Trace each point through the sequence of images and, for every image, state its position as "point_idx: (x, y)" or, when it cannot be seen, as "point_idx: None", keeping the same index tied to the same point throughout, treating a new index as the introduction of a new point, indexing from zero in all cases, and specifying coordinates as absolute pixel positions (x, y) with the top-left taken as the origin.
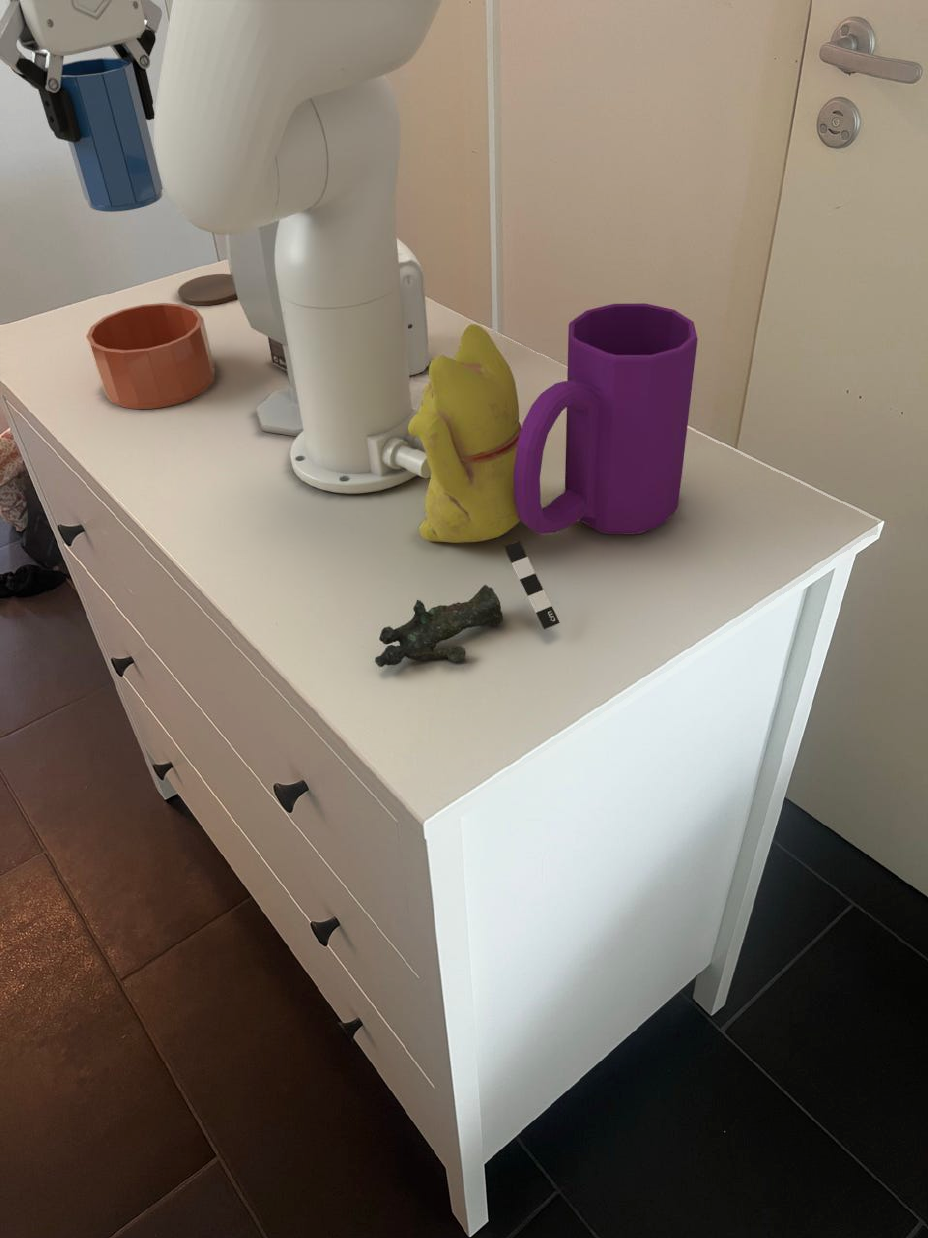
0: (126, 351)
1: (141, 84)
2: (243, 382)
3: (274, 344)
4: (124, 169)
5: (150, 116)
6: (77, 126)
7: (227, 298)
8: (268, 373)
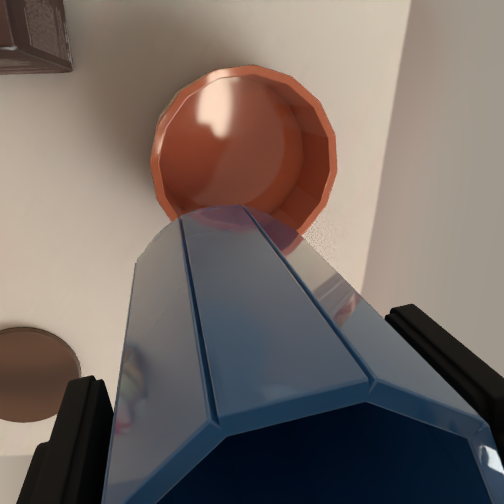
0: (315, 100)
1: (75, 465)
2: (141, 54)
3: (62, 48)
4: (267, 230)
5: (90, 376)
6: (407, 330)
7: (21, 329)
8: (94, 49)
